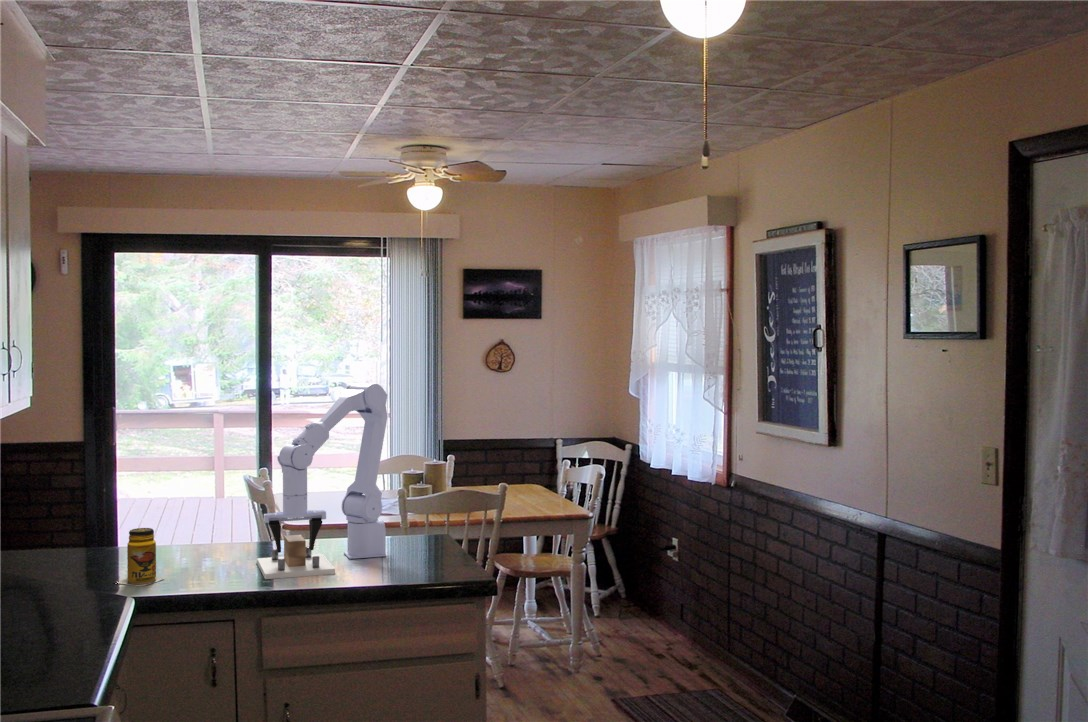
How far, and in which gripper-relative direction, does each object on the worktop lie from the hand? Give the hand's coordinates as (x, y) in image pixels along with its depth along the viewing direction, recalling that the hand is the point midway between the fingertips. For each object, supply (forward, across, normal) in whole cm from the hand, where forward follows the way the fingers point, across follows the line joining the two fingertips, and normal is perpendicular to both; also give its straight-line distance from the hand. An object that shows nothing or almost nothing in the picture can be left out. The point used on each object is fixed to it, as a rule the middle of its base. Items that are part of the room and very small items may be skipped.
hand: (295, 550), depth 245 cm
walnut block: (+3, 0, -1) cm, 3 cm away
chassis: (+4, 0, 0) cm, 4 cm away
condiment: (+4, +35, +1) cm, 35 cm away
